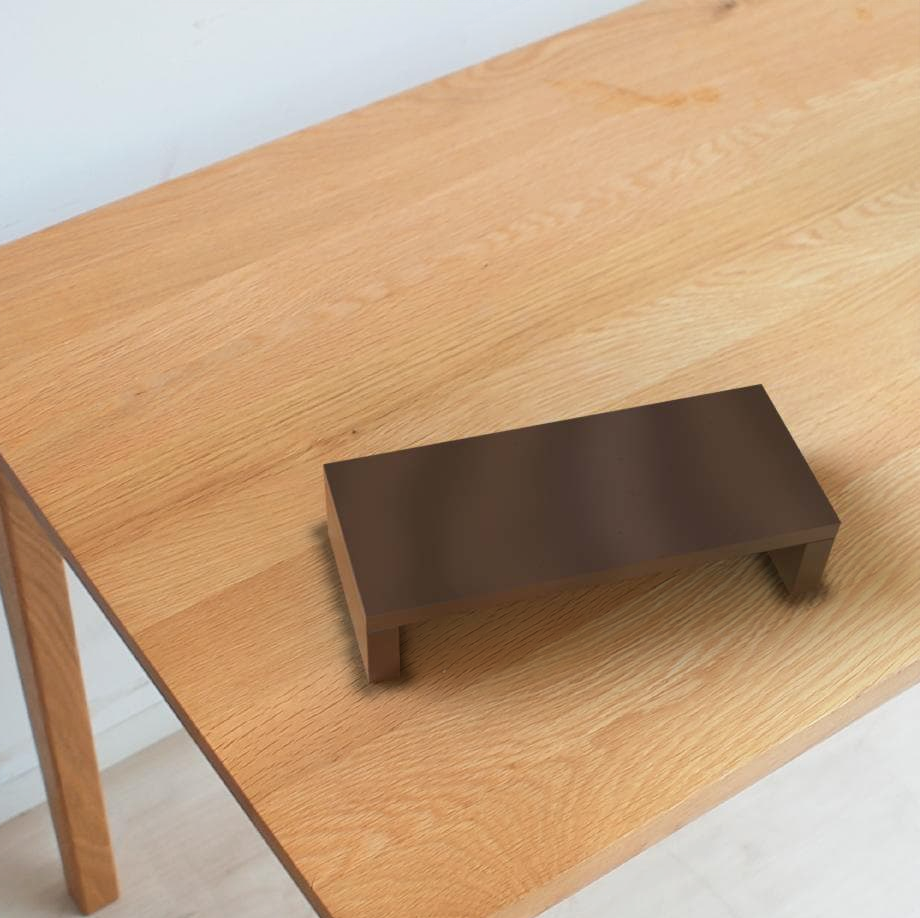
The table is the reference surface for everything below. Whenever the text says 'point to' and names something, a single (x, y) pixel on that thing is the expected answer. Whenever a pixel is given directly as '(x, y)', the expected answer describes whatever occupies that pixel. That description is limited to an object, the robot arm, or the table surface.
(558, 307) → the table surface
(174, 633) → the table surface
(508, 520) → the shelf
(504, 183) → the table surface
